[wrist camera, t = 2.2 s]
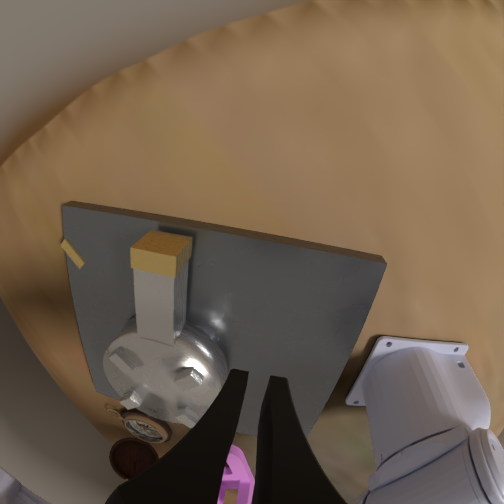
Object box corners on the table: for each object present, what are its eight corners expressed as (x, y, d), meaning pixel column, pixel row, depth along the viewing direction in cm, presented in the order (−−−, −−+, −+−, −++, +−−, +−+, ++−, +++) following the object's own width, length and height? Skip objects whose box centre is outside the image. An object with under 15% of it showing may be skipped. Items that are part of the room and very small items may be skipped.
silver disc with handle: (222, 406, 23) (214, 441, 20) (126, 380, 24) (109, 410, 20) (247, 245, 17) (237, 276, 14) (109, 220, 18) (74, 242, 14)
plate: (381, 256, 18) (387, 265, 17) (304, 432, 26) (304, 442, 25) (68, 200, 19) (57, 205, 18) (98, 383, 27) (92, 391, 26)
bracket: (255, 482, 33) (250, 522, 27) (218, 479, 34) (209, 518, 28) (238, 440, 28) (229, 493, 22) (191, 437, 29) (176, 486, 23)
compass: (177, 421, 28) (158, 475, 21) (166, 447, 31) (150, 492, 24) (110, 391, 27) (82, 440, 21) (109, 421, 31) (87, 463, 24)
